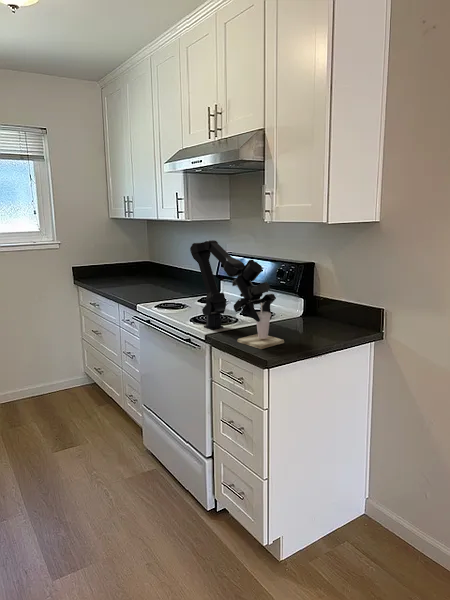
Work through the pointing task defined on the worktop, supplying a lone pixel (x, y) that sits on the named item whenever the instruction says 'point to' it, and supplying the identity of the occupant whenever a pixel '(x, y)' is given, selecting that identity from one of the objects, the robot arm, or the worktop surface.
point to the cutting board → (260, 341)
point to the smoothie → (263, 323)
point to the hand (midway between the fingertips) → (265, 320)
